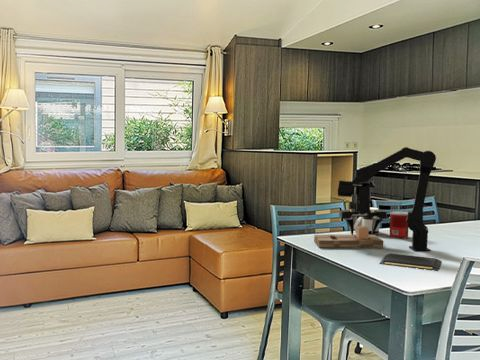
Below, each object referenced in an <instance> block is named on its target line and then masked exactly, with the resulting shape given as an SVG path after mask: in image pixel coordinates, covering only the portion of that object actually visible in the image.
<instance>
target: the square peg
mask: <svg viewBox="0 0 480 360" xmlns="http://www.w3.org/2000/svg"><path fill="white" fill-rule="evenodd" d="M368 233H369V228H368V227H366V226H356V230H355V235H356V238H357V239H368V235H369V234H368Z"/></svg>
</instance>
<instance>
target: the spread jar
mask: <svg viewBox="0 0 480 360" xmlns="http://www.w3.org/2000/svg"><path fill="white" fill-rule="evenodd" d="M374 210H380V209H379V208H378V207H371V206H370V211H371V212H374ZM367 215H368V214H367ZM372 223H373V221H372V217H358V218H357V219H356V221H355V223H354V224H353V231H356V226H366V227H368V228H369V233H368V235H372ZM379 231H380V224H379V225H378V226H377V228H376V230H375V232H374V234H373V235H377V234H379V233H380V232H379Z"/></svg>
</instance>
